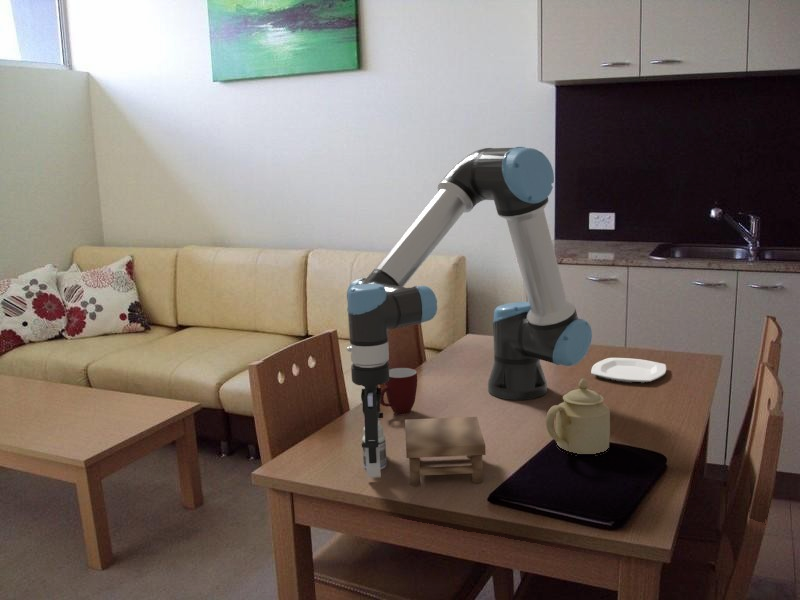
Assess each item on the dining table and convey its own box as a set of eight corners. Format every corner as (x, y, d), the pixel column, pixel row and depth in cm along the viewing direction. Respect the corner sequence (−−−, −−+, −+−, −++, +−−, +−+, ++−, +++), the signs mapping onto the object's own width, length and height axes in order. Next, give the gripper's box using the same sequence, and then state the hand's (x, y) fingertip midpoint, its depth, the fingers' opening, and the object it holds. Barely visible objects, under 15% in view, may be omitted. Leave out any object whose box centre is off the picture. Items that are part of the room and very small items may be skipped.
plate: (673, 369, 211) (673, 363, 211) (655, 390, 195) (655, 383, 195) (604, 361, 221) (605, 355, 221) (582, 380, 205) (582, 373, 205)
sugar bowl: (598, 467, 151) (599, 395, 148) (543, 458, 156) (543, 389, 153) (614, 440, 164) (615, 373, 161) (564, 433, 169) (564, 368, 166)
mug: (394, 423, 179) (393, 382, 177) (371, 415, 185) (369, 376, 183) (425, 410, 186) (423, 371, 184) (401, 403, 192) (400, 365, 190)
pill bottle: (363, 462, 158) (361, 423, 157) (385, 460, 159) (384, 422, 157) (364, 471, 154) (361, 432, 152) (387, 470, 154) (385, 430, 152)
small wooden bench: (477, 452, 161) (476, 416, 159) (486, 484, 146) (485, 444, 144) (406, 455, 161) (404, 419, 159) (407, 487, 146) (406, 448, 144)
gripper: (354, 346, 164) (358, 439, 168) (347, 382, 139) (353, 490, 144) (389, 345, 164) (392, 438, 168) (388, 381, 139) (392, 488, 144)
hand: (374, 462), depth 156 cm, fingers open, 13 cm apart
